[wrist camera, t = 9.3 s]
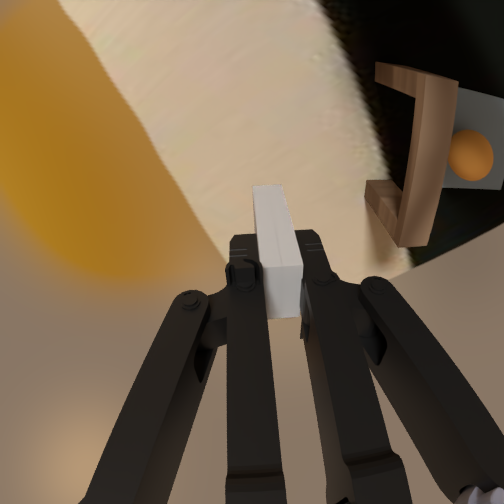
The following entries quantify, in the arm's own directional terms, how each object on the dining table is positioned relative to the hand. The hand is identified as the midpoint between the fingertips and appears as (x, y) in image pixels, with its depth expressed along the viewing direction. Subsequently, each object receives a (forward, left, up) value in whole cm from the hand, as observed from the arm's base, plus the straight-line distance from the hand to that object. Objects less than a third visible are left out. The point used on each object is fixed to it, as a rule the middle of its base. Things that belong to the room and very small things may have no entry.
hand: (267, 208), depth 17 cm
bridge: (0, +13, -14) cm, 19 cm away
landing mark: (0, +26, -14) cm, 30 cm away
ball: (+1, +22, -12) cm, 25 cm away
